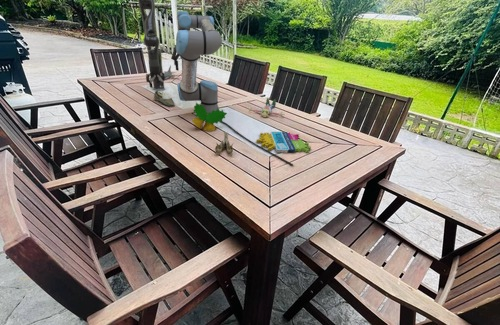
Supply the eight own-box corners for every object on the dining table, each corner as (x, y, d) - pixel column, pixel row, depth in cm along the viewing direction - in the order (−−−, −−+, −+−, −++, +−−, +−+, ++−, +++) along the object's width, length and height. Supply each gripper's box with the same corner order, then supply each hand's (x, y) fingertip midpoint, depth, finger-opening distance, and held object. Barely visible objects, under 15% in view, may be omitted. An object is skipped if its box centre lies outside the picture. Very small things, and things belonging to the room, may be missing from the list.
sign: (313, 150, 142) (258, 149, 139) (312, 153, 143) (258, 152, 140) (301, 132, 164) (254, 130, 161) (301, 134, 165) (254, 133, 162)
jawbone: (234, 135, 144) (233, 125, 135) (233, 160, 138) (232, 151, 129) (217, 135, 144) (216, 125, 135) (216, 160, 138) (214, 150, 129)
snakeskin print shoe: (167, 107, 195) (166, 95, 190) (151, 100, 209) (149, 88, 205) (177, 106, 200) (176, 93, 195) (160, 98, 214) (159, 87, 210)
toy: (288, 100, 208) (284, 110, 182) (287, 109, 211) (283, 120, 186) (254, 96, 213) (245, 105, 187) (254, 104, 216) (245, 115, 190)
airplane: (146, 75, 285) (145, 65, 280) (175, 73, 298) (174, 64, 293) (152, 84, 257) (151, 73, 252) (184, 82, 270) (183, 72, 265)
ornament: (218, 133, 171) (224, 110, 169) (221, 134, 163) (227, 111, 161) (186, 125, 162) (192, 101, 160) (189, 126, 155) (195, 101, 153)
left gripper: (160, 64, 204) (162, 85, 211) (142, 65, 194) (145, 87, 202) (165, 65, 199) (167, 87, 207) (147, 66, 190) (150, 89, 198)
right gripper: (197, 37, 187) (198, 68, 197) (164, 36, 173) (167, 69, 183) (203, 38, 182) (203, 69, 192) (169, 37, 168) (171, 71, 178)
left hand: (156, 87), depth 205 cm, fingers open, 8 cm apart
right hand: (186, 69), depth 187 cm, fingers open, 13 cm apart
